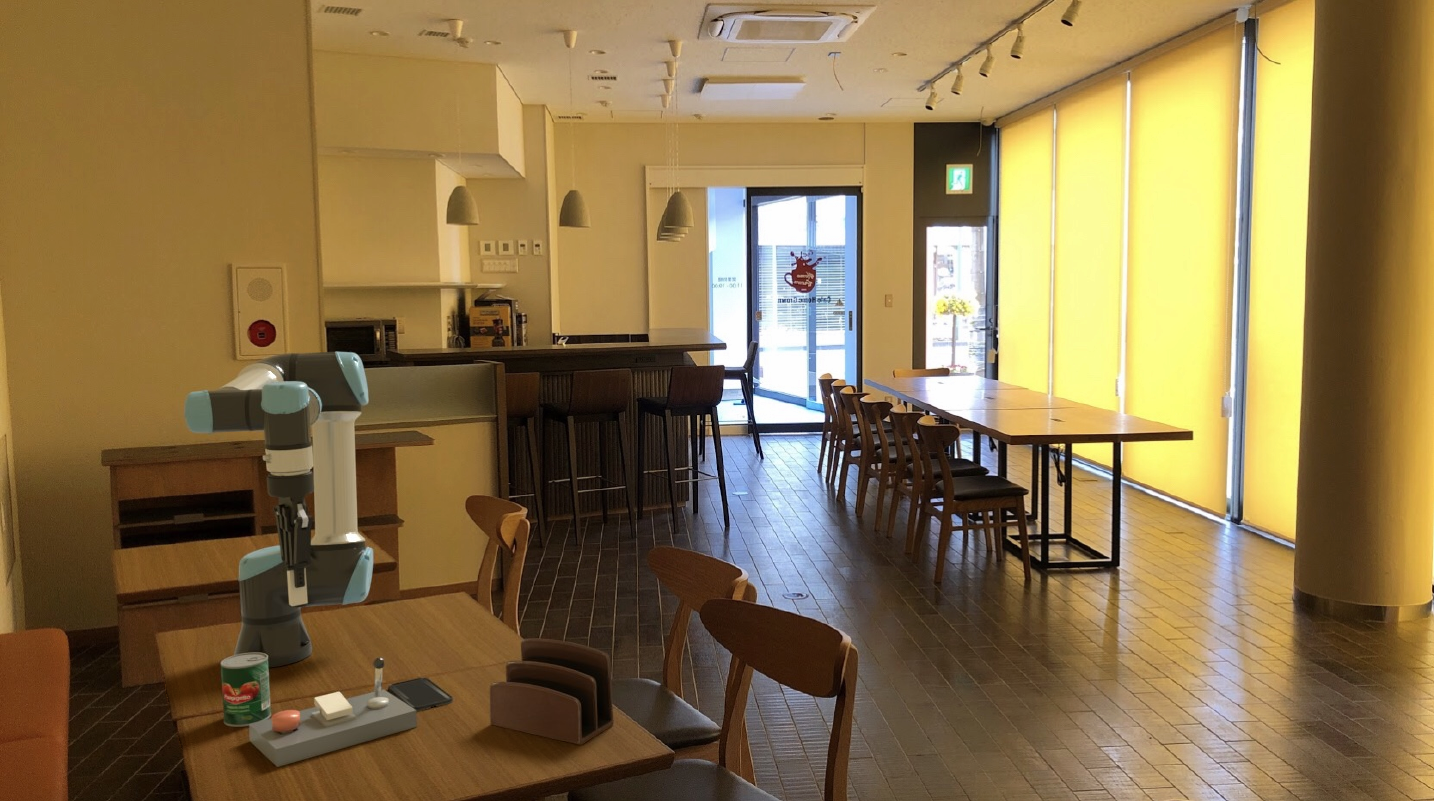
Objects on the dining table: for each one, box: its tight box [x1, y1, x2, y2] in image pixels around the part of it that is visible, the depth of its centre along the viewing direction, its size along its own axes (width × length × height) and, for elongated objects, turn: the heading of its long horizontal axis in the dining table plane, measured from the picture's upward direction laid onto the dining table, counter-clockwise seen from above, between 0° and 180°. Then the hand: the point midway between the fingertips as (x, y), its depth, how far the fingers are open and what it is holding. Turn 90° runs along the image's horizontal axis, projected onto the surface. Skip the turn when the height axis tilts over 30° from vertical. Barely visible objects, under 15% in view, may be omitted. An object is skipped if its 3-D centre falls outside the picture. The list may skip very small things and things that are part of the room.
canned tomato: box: [219, 652, 272, 728], centre depth 193 cm, size 8×8×11 cm
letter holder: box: [489, 637, 614, 746], centre depth 187 cm, size 10×20×14 cm, turn 61°
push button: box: [271, 709, 300, 735], centre depth 180 cm, size 4×4×5 cm
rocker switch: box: [313, 691, 353, 720], centre depth 185 cm, size 6×4×2 cm
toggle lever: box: [372, 657, 386, 697], centre depth 189 cm, size 2×2×7 cm
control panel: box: [248, 689, 418, 768], centre depth 185 cm, size 14×24×4 cm, turn 130°
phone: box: [387, 676, 454, 712], centre depth 203 cm, size 8×1×15 cm
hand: (298, 603), depth 187 cm, fingers closed
